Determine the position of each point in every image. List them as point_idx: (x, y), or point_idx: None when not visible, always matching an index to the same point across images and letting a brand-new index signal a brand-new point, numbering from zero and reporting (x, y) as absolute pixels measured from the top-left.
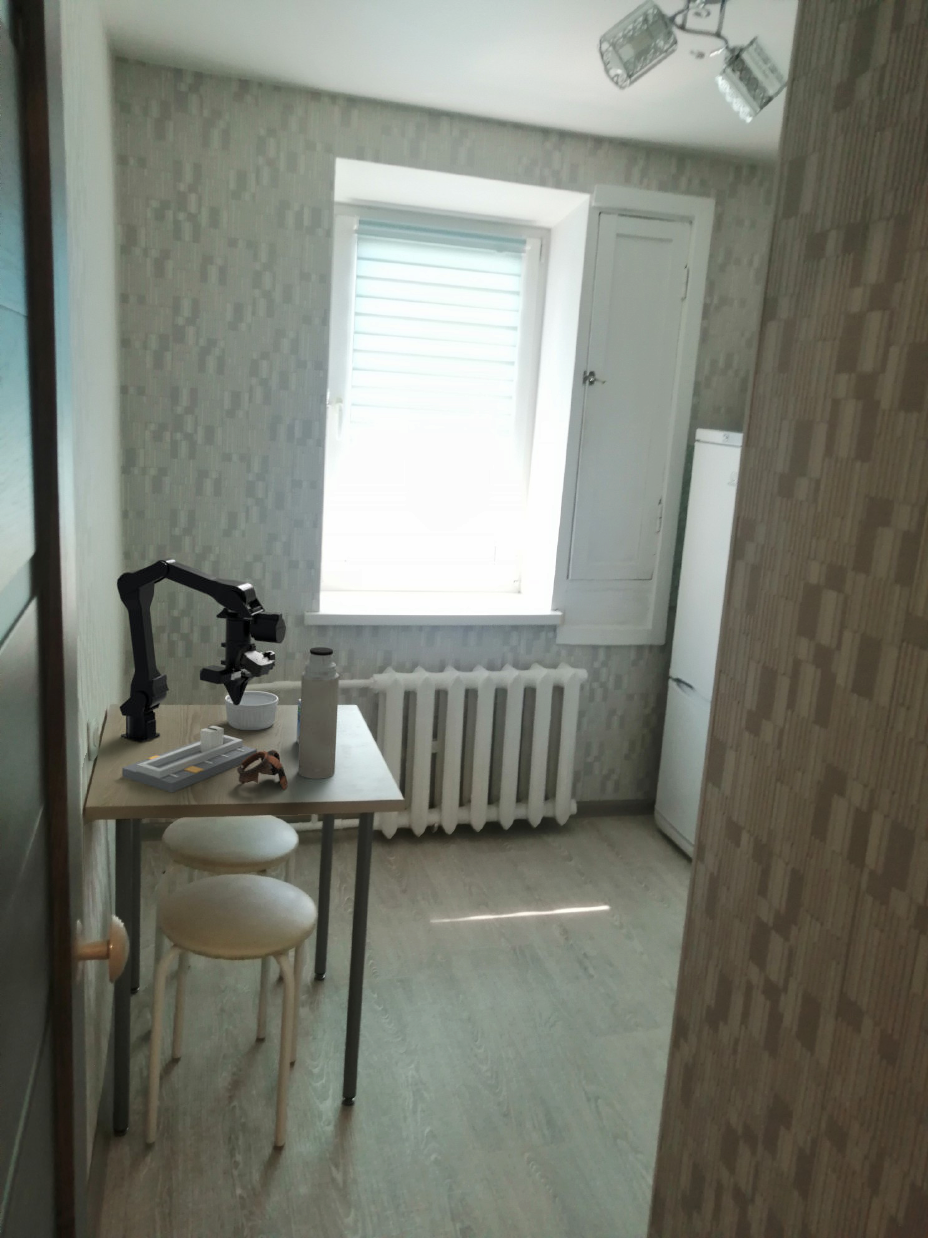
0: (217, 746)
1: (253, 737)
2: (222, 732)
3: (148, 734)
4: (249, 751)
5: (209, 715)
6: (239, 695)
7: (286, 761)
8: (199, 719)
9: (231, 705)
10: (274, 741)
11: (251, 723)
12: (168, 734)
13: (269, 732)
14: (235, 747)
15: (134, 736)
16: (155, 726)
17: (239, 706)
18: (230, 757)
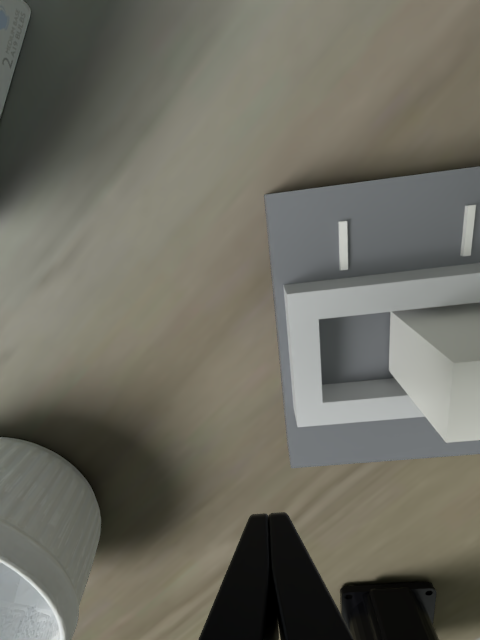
0: (448, 315)
1: (101, 397)
2: (447, 349)
3: (412, 603)
4: (321, 195)
5: (91, 619)
6: (286, 628)
7: (188, 25)
8: (140, 613)
9: (71, 611)
10: (57, 305)
11: (48, 473)
12: None
13: (11, 397)
14: (342, 280)
15: (429, 617)
16: (387, 630)
17: (51, 582)
18: (462, 194)
